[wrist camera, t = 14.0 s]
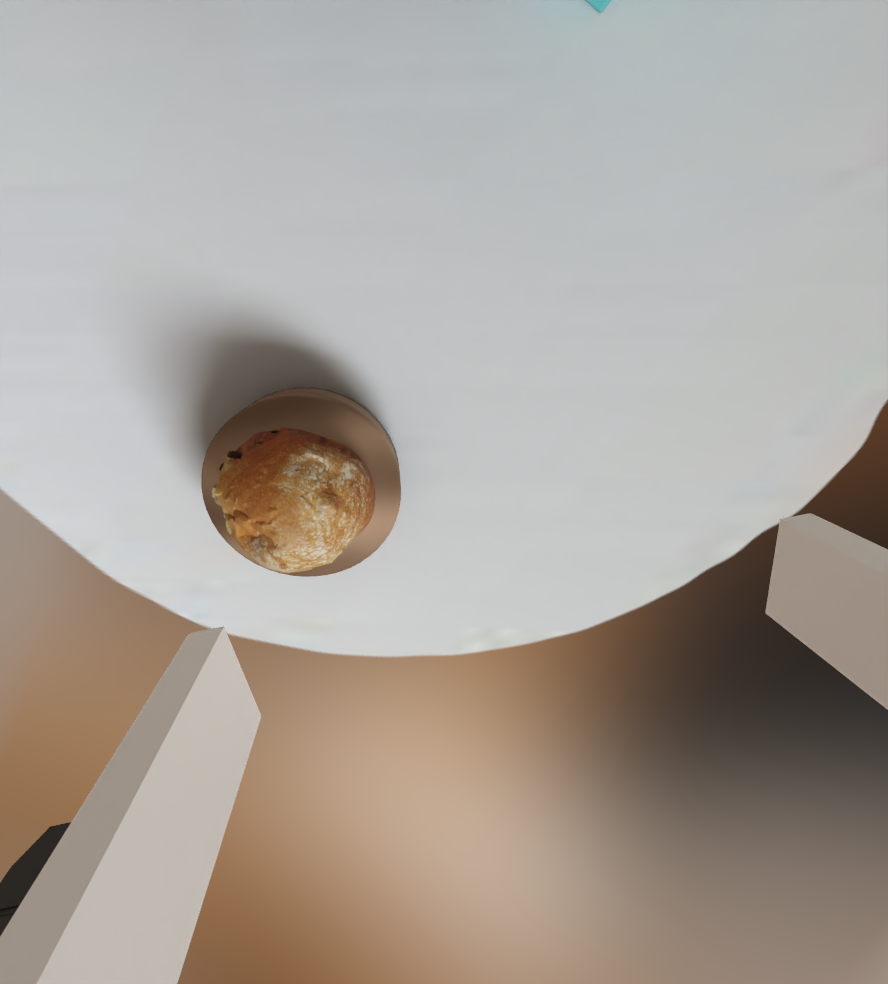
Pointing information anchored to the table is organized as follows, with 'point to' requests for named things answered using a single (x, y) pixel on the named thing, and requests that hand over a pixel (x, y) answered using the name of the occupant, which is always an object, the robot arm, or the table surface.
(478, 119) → the table surface
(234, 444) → the walnut stand
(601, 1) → the game box
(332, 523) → the bread roll
